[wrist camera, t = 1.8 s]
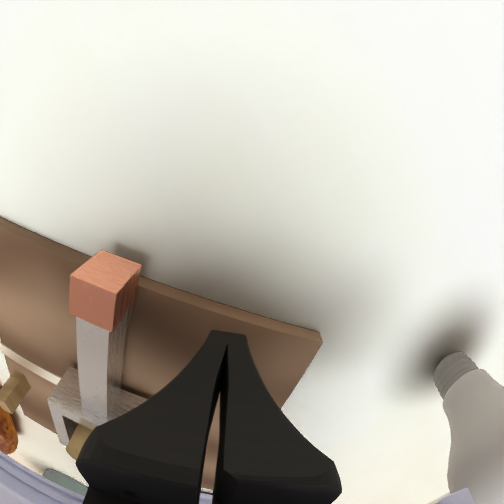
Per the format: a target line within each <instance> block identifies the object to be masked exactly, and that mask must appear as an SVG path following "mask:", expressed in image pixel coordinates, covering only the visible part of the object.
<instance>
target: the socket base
mask: <svg viewBox="0 0 504 504" xmlns="http://www.w3.org/2000/svg"><path fill="white" fill-rule="evenodd" d="M90 258H92V257H90V256H88V255H85V254H83V253H80V252H78V251H75V250H73V249H71V248H68V247H66V246H63V245H61V244H59V243H56V242H54V241H52V240H49V239H47V238H45V237H43V236H40V235H38V234H36V233H34V232H31V231H29V230H27V229H25V228H23V227H20V226H18V225H16V224H14V223H12V222H10V221H8V220H6V219H3V218H1V217H0V339H1V342H0V352H2V353H3V354H4V355H5V359H6V363H7V366H8V370H9V373H10V378H9V379H8V380H7V381H6V383H5V384H4V385H3V386H2V388H1V389H0V406H1V408H2V409H3V410H5V411H7V412H9V413H11V414H13V413H14V411H15V410H16V408H17V407H18V405H19V404H20V405H21V407H22V410H23V412H24V415H26V416H27V417H29V418H31V419H32V420H34V421H35V422H37V423H39V424H40V425H42V426H44V427H45V428H47V429H49V430H51V431H52V432H54V433H56V434H57V431H56V428H55V425H54V422H53V419H52V415H51V412H50V408H49V405H48V401H47V399H48V397H49V396H50V394H51V393H52V391H53V390H54V388H55V387H56V385H57V384H58V383H59V381H60V380H61V378H62V377H63V375H64V374H65V372H66V371H67V369H68V368H69V367H70V366H71V367H73V368H75V369H77V370H78V361H77V338H76V316H74V315H72V314H70V313H69V289H70V274H72V273H73V272H74V271H75V270H77V269H78V268H79V267H80V266H82V265H83V264H84V263H85V262H87V261H88V260H89V259H90ZM212 330H218V331H225V332H231V333H238V334H244V335H245V336H246V337H247V341H248V345H249V349H250V352H251V355H252V358H253V360H254V363H255V365H256V368H257V370H258V372H259V374H260V376H261V378H262V380H263V382H264V384H265V386H266V388H267V390H268V391H269V393H270V395H271V396H272V398H273V399H274V401H275V402H276V404H277V405H278V407H279V408H280V409H281V407H282V406H283V405H284V403H285V402H286V400H287V399H288V397H289V396H290V394H291V393H292V391H293V390H294V388H295V387H296V385H297V384H298V382H299V380H300V379H301V377H302V376H303V374H304V373H305V371H306V369H307V368H308V366H309V365H310V363H311V361H312V360H313V358H314V356H315V355H316V353H317V351H318V350H319V348H320V346H321V345H322V343H323V342H322V339H321V336H320V332H316V331H312V330H309V329H305V328H301V327H298V326H294V325H291V324H287V323H284V322H280V321H277V320H273V319H270V318H266V317H263V316H259V315H256V314H253V313H250V312H246V311H243V310H240V309H237V308H233V307H230V306H227V305H224V304H221V303H218V302H214V301H211V300H208V299H205V298H202V297H199V296H196V295H193V294H190V293H187V292H184V291H181V290H179V289H176V288H173V287H170V286H167V285H164V284H161V283H159V282H156V281H153V280H150V279H148V278H145V277H142V276H140V277H139V282H138V288H137V293H136V299H135V300H134V302H133V303H132V305H131V306H130V308H129V315H128V323H127V330H126V339H125V348H124V357H123V368H122V381H121V389H122V390H125V391H127V392H130V393H132V394H135V395H137V396H140V397H143V398H146V399H149V398H151V397H152V396H153V395H155V394H156V393H157V392H159V391H160V390H161V389H162V388H164V387H165V386H166V385H167V384H168V383H169V382H170V381H172V380H173V379H174V378H175V377H176V376H177V375H178V374H179V373H180V372H181V371H182V370H183V368H184V367H185V366H186V365H187V364H188V363H189V362H190V361H191V359H192V358H193V357H194V356H195V354H196V353H197V352H198V351H199V349H200V348H201V346H202V345H203V343H204V342H205V340H206V339H207V337H208V335H209V333H210V331H212ZM219 414H220V393H219V397H218V401H217V405H216V409H215V413H214V417H213V421H212V425H211V429H210V433H209V437H208V442H207V448H206V455H205V462H204V469H203V477H202V484H201V487H203V488H207V489H212V490H213V488H214V480H215V471H216V463H217V455H218V446H219ZM92 431H93V430H91V429H89V428H87V427H85V426H83V425H81V424H79V423H78V425H77V427H76V429H75V431H74V433H73V435H72V437H71V439H70V441H69V443H68V445H67V447H66V451H67V452H68V454H69V455H70V456H71V457H72V458H74V459H75V460H77V458H78V455H79V453H80V451H81V449H82V446H83V444H84V442H85V441H86V439H87V438H88V436H89V435H90V434H91V432H92Z"/></svg>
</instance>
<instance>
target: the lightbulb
mask: <svg viewBox="0 0 504 504" xmlns="http://www.w3.org/2000/svg"><path fill="white" fill-rule="evenodd" d="M433 380H434V383H435V385H436V387H437V388H438V391H439V392H440V395H441V397H442V398H443V409H444V411H445V413H446V415H447V418H448V421H449V425H450V429H451V448H450V455H449V463H448V473H447V478H448V487H449V490H450V493H451V494H452V493H455V492H457V491H460V490H462V489H464V488H468V489H469V491H470V493H471V496H472V498H473V501H474V503H475V504H504V386H502V385H500V384H499V383H498V382H496V381H495V380H494V379H493V378H492V377H491V376H490V375H489V374H488V373H487V372H486V371H485V370H483V369H479V368H478V367H477V366H476V365H475V363H474V362H473V361H472V360H471V359H470V358H469V357H468V356H467V355H466V354H465V353H464V352H455V353H452V354H450V355H448V356H446V357H444V358H443V359H442V360H441V361H440V363H439V365H438V366H437V367H436V369H435V371H434V375H433Z"/></svg>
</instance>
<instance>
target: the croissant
mask: <svg viewBox="0 0 504 504" xmlns="http://www.w3.org/2000/svg"><path fill="white" fill-rule="evenodd" d="M17 445H18V437H17V432H16V429H15V425H14V423H13V420H12V417H11V415H10V413H9V412H7V411H5V410H3V409H2V408H1V406H0V451H1V452H3V453H4V454H6V455H7V454H11V453H13V452H14V451H15V450H16V449H17Z"/></svg>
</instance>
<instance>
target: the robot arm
mask: <svg viewBox="0 0 504 504" xmlns="http://www.w3.org/2000/svg"><path fill="white" fill-rule="evenodd" d="M219 393H220V414H219V446H218V455H217V463H216V471H215V480H214V488H213V495H209V494H204V493H200V492H201V484H202V477H203V469H204V462H205V455H206V448H207V442H208V437H209V433H210V429H211V425H212V421H213V417H214V413H215V409H216V405H217V401H218V397H219ZM76 466H77V468H78V470H79V472H80V473H81V475H82V476H83V477H84V479H85V480H86V482H87V483H88V484H89V487H88V490H87V492H86V495H85V497H84V496H82V495H80V494H77V493H75V492H73V491H71V490H68V489H66V488H64V487H62V486H60V485H58V484H56V483H54V482H52V481H50V480H48V479H46V478H44V477H42V476H41V475H39V474H37V473H35V472H33V471H32V470H30V469H28V468H26V467H25V466H23V465H22V464H20V463H18V462H17V461H15V460H13V459H12V458H10V457H9V456H7V455H6V454H4V453H3V452H1V451H0V504H331V503H332V502H333V501H334V500H336V499H337V498H338V496H339V495H340V494H341V493H342V486H341V481H340V477H339V474H338V472H337V469H336V466H335V464H334V462H333V461H332V460H331V459H330V458H328V457H327V456H326V455H324V454H323V453H322V452H321V451H319V450H318V449H317V448H316V447H314V446H313V445H312V444H311V443H310V442H309V441H308V440H307V439H306V438H305V437H304V436H303V435H302V434H301V433H300V432H299V431H298V430H297V429H296V428H295V427H294V425H293V424H292V423H291V422H290V421H289V420H288V419H287V417H286V416H285V415H284V414H283V412H282V411H281V410H280V408H279V407H278V405H277V404H276V402H275V401H274V399H273V398H272V396H271V395H270V393H269V391H268V390H267V388H266V386H265V384H264V382H263V380H262V378H261V376H260V374H259V372H258V370H257V368H256V365H255V363H254V360H253V358H252V355H251V352H250V349H249V345H248V341H247V337H246V336H245V335H244V334H238V333H231V332H225V331H218V330H212V331H210V333H209V335H208V337H207V339H206V340H205V342H204V343H203V345H202V346H201V348H200V349H199V351H198V352H197V353H196V354H195V356H194V357H193V358H192V359H191V361H190V362H189V363H188V364H187V365H186V366H185V367H184V368H183V370H182V371H181V372H180V373H179V374H178V375H177V376H176V377H175V378H174V379H173V380H172V381H170V382H169V383H168V384H167V385H166V386H165V387H164V388H162V389H161V390H160V391H159V392H157V393H156V394H155V395H153V396H152V397H151V398H149V399H148V400H146V401H145V402H143V403H142V404H140V405H139V406H137V407H135V408H134V409H132V410H130V411H128V412H127V413H125V414H123V415H121V416H119V417H117V418H115V419H113V420H110V421H108V422H106V423H104V424H101V425H99V426H96V427H95V428H94V429H93V431H92V432H91V434H90V435H89V436H88V438H87V439H86V441H85V442H84V444H83V446H82V449H81V451H80V453H79V455H78V458H77V460H76ZM435 504H475V503H474V501H473V498H472V496H471V493H470V491H469V489H468V488H464V489H462V490H460V491H457V492H455V493H452V494H450V495H448V496H446V497H444V498H442V499H441V500H439V501H438V502H436V503H435Z"/></svg>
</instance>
